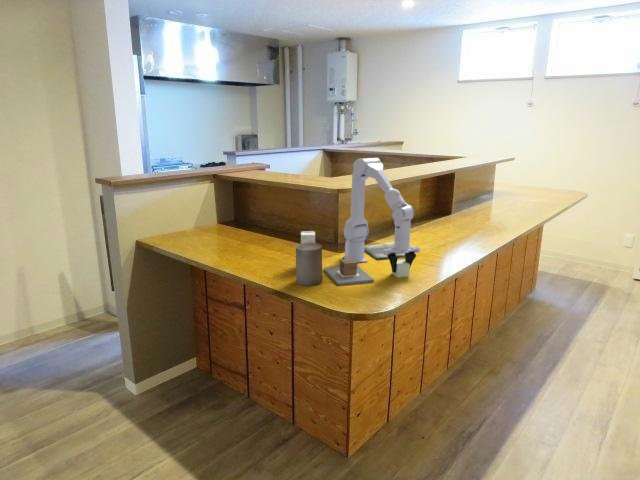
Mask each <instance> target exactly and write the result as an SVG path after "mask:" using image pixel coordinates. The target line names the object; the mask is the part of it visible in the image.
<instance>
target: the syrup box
mask: <svg viewBox="0 0 640 480" xmlns="http://www.w3.org/2000/svg"><path fill="white" fill-rule="evenodd" d="M302 243H316V232H315V231H313V230H311V231H309V230H308V231H307V230H306V231H300V244H302Z"/></svg>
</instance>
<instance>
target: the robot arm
mask: <svg viewBox="0 0 640 480" xmlns="http://www.w3.org/2000/svg"><path fill="white" fill-rule="evenodd" d="M352 166H353V167H352V168H353V169H352V170H353V171H352V175H351V195H350V196H351V197H350V202H351V203H350V217H349V218H348V219H347V220H346V221H345V223H344V224H345V225H344V229H343V236H344V238H345V240H346V241H345V242H344V243H345V244H344V255H342V258H343V259H353V260H355V261H356V262H357V263H366V262H368V259H366V258H365V251H364V247H365V240H366V239H367V237H368V235H369V233H370V231H369V230H370V229H369V225H368V223H369V222H368V220H366V218H365V217H364V216H365V197H366V196H365V195H366V193H365V192H366V181H367V179H369V178H372V179H374V180H375V182H376V183H377V184H378V185H379V187H380V189H382V191H383V192H384V200H385V201H386V203H387V204H388V206H389V207H390V209H391V210H392V213H391V216H392V219H393V222H394V223H393V224H394V239H393V240H394V242H393V243H394V247H393V248H388V249H383V254H384V255H387V256H388V258H389V259H388V260H389V263H390V266H391V268H390V269H391V273H392V272H394V273H396V264H397V261H398V257H397V256H396V255H395V254H401V253H405V258H404V261H406V262H408V263H409V264H410V268H411V267H412V264H413V262H414V260H415V259H416V258H417V257H416V256H417V253H418V254H419V253H421V247H419V246H410V243H411V225H412V223H411V221H412V219H414V216H415V209H414V207H413V206H412V205H410V204H408V202H406V201H405V199H404V198H403V196H402V194H401V192H400V190H398V189H396V188H394V187H393V186H392V184H391V182H390V180H389V178H388V176H387V175H386V173H385V171H384V164H383V163H382V161H381V160H380V158H379V157H368V158H361V157H360V158H357V159H356V160H355V161H354V162H353V164H352Z"/></svg>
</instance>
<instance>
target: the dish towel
mask: <svg viewBox="0 0 640 480" xmlns="http://www.w3.org/2000/svg"><path fill="white" fill-rule="evenodd" d="M393 247H394V242H393V241H392V242H388V243H380V244H372V245H366V246H365V245H364V253H365V252H366V253H367V254H368V255H370V256H371V257H372V258H373V259H375V260H376V261H383V260H385V261H386V260H389V258H388V256H387V255H384V254H383V249H388V248H393ZM395 255H396V256H397V257H398V259H399V260H400V259H401V260H402V259H405V253H401V254H395ZM398 259H397V260H398Z"/></svg>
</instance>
